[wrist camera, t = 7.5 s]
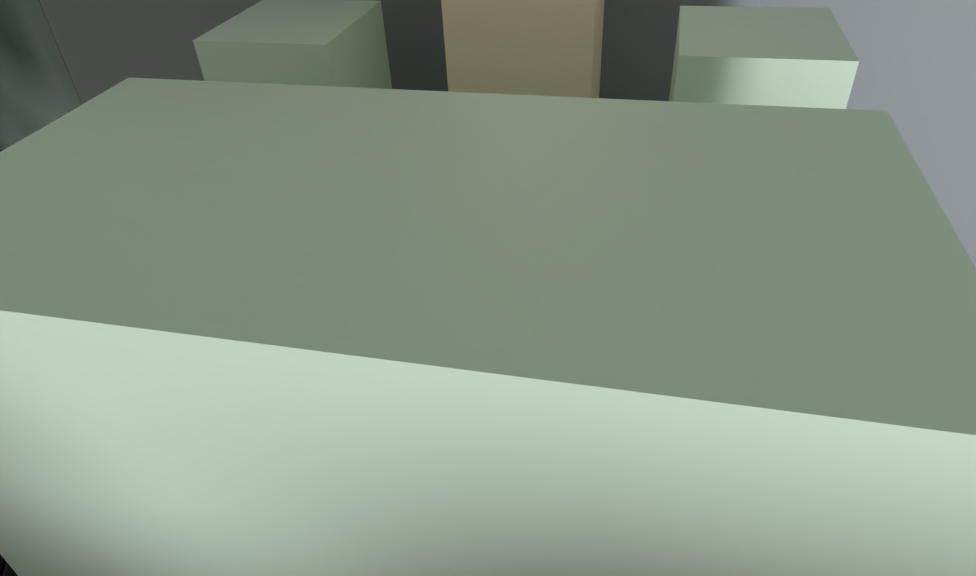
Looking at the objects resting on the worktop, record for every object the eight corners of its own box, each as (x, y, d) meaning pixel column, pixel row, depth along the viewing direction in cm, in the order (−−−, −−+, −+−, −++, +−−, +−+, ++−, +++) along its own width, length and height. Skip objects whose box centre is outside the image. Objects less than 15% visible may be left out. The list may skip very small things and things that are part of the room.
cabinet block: (828, 9, 7) (1076, 449, 2) (686, 598, 13) (685, 999, 9) (264, -1, 8) (-223, 280, 4) (387, 543, 14) (262, 873, 10)
